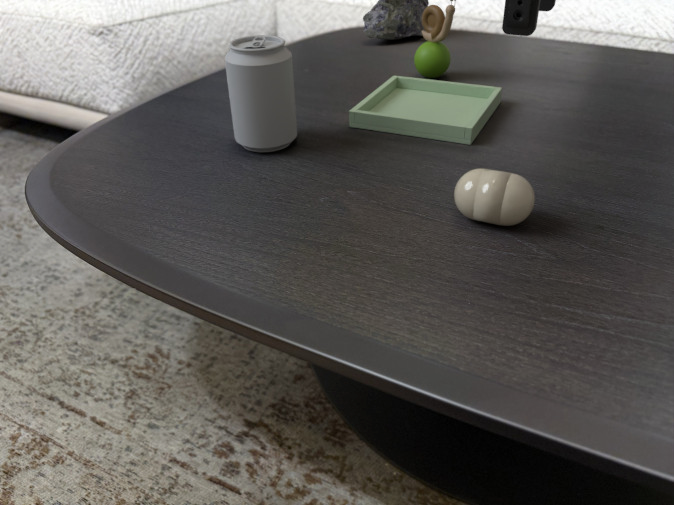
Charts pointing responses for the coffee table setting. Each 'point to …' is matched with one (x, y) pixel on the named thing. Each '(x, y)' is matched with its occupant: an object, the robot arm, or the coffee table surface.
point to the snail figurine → (434, 42)
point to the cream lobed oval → (494, 197)
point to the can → (261, 92)
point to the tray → (427, 109)
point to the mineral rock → (395, 19)
